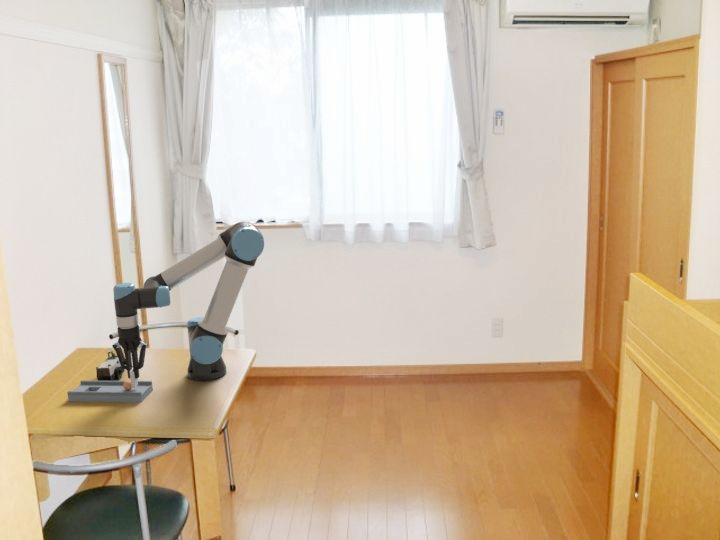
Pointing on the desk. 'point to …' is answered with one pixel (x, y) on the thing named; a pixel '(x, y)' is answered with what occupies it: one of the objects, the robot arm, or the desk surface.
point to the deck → (109, 392)
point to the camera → (110, 368)
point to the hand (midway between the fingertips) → (134, 386)
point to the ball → (127, 385)
